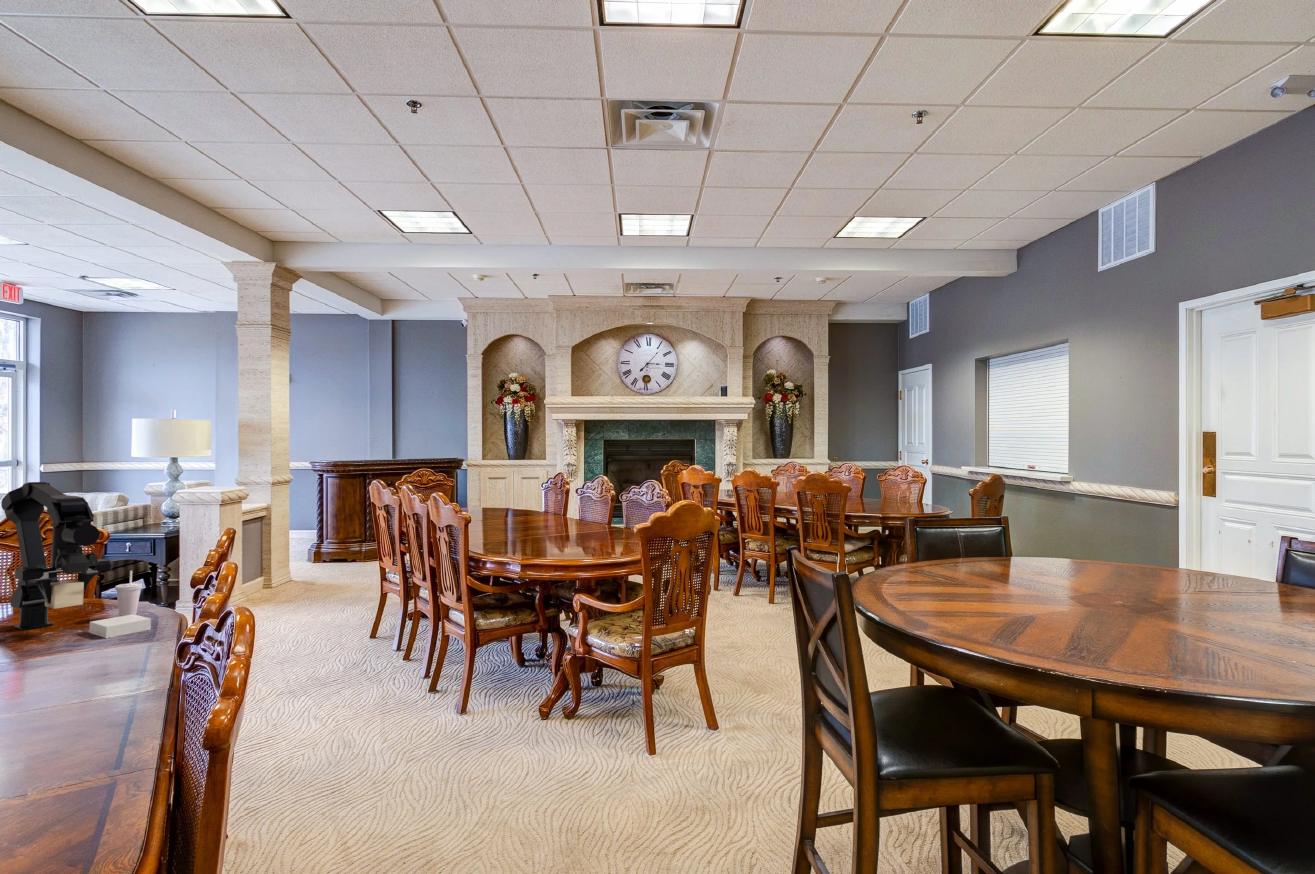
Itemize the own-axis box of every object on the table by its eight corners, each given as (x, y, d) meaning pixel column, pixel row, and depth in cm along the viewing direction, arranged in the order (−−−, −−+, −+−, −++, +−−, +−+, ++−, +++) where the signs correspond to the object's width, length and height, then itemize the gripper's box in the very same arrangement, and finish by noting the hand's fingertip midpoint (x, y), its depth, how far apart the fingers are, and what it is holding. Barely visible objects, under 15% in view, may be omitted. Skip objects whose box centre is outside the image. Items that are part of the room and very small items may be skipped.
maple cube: (44, 605, 171) (45, 583, 171) (73, 601, 176) (74, 580, 176) (54, 608, 168) (55, 586, 168) (83, 604, 173) (83, 582, 173)
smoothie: (125, 620, 186) (127, 572, 186) (107, 619, 187) (109, 571, 187) (146, 615, 192) (148, 569, 192) (129, 614, 193) (131, 568, 194)
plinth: (89, 632, 173) (89, 621, 173) (133, 624, 182) (133, 614, 182) (106, 638, 168) (106, 626, 168) (150, 629, 177) (151, 618, 177)
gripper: (32, 550, 160) (29, 611, 160) (122, 541, 177) (120, 598, 176) (15, 546, 166) (12, 606, 165) (103, 539, 182) (101, 593, 182)
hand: (64, 601), depth 172 cm, fingers closed on maple cube, 6 cm apart
